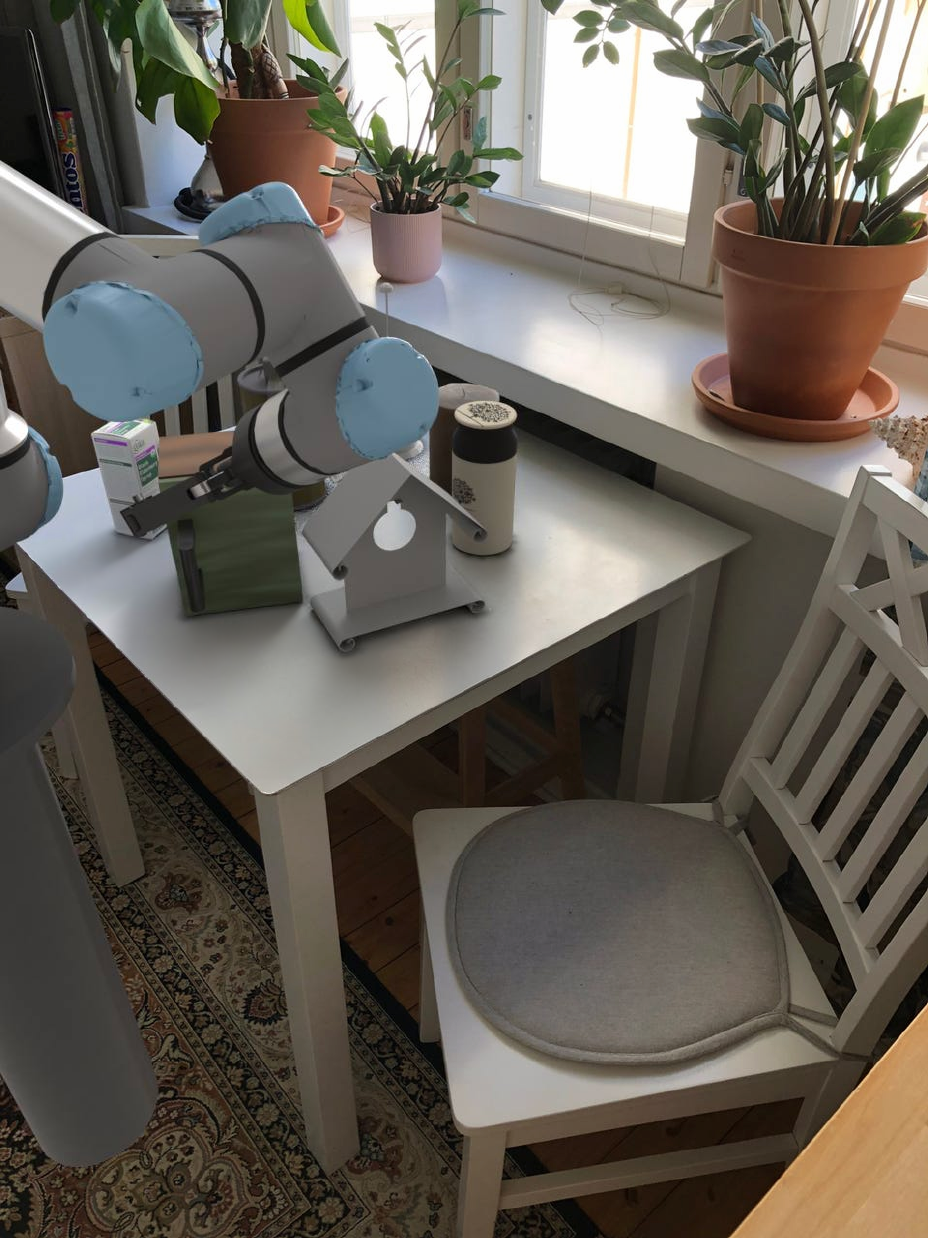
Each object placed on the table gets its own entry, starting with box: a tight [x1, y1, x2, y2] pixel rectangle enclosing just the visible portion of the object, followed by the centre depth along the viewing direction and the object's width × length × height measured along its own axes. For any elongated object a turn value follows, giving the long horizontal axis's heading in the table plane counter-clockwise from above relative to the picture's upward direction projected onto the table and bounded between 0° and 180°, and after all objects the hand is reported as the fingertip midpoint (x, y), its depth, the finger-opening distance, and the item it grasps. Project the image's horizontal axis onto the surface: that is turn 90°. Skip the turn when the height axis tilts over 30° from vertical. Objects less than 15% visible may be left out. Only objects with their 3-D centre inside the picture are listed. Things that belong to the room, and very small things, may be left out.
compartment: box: [158, 430, 234, 480], centre depth 108 cm, size 10×14×18 cm
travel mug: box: [451, 401, 519, 556], centre depth 116 cm, size 8×8×18 cm
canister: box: [236, 356, 328, 512], centre depth 125 cm, size 11×10×20 cm
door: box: [158, 476, 304, 617], centre depth 101 cm, size 7×14×17 cm, turn 104°
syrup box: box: [90, 417, 167, 540], centre depth 119 cm, size 6×6×14 cm
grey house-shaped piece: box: [301, 453, 488, 653], centre depth 103 cm, size 18×10×20 cm, turn 117°
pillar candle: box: [428, 383, 500, 497], centre depth 130 cm, size 10×10×15 cm
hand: (188, 491), depth 91 cm, fingers open, 13 cm apart
